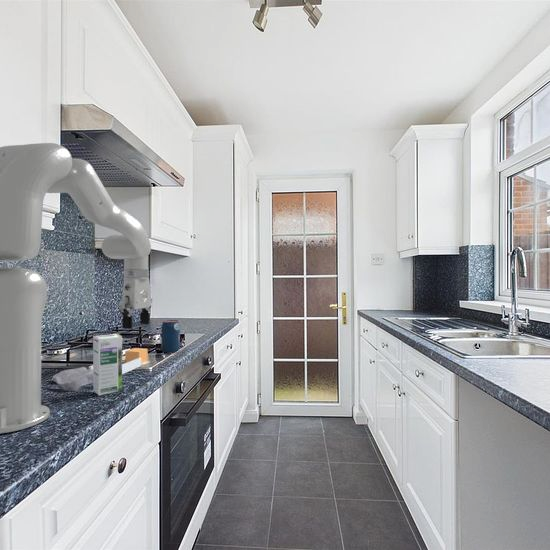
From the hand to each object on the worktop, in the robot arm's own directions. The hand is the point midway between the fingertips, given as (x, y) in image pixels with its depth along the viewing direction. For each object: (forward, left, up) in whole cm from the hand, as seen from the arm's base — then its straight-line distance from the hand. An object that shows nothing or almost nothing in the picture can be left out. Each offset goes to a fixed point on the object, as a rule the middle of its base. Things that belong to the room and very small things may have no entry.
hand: (136, 326), depth 118 cm
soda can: (+21, -1, -13) cm, 25 cm away
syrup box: (-25, -8, -13) cm, 29 cm away
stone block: (-22, +4, -14) cm, 26 cm away
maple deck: (-8, 0, -13) cm, 15 cm away
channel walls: (-10, 0, -13) cm, 17 cm away
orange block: (0, 0, -12) cm, 12 cm away
